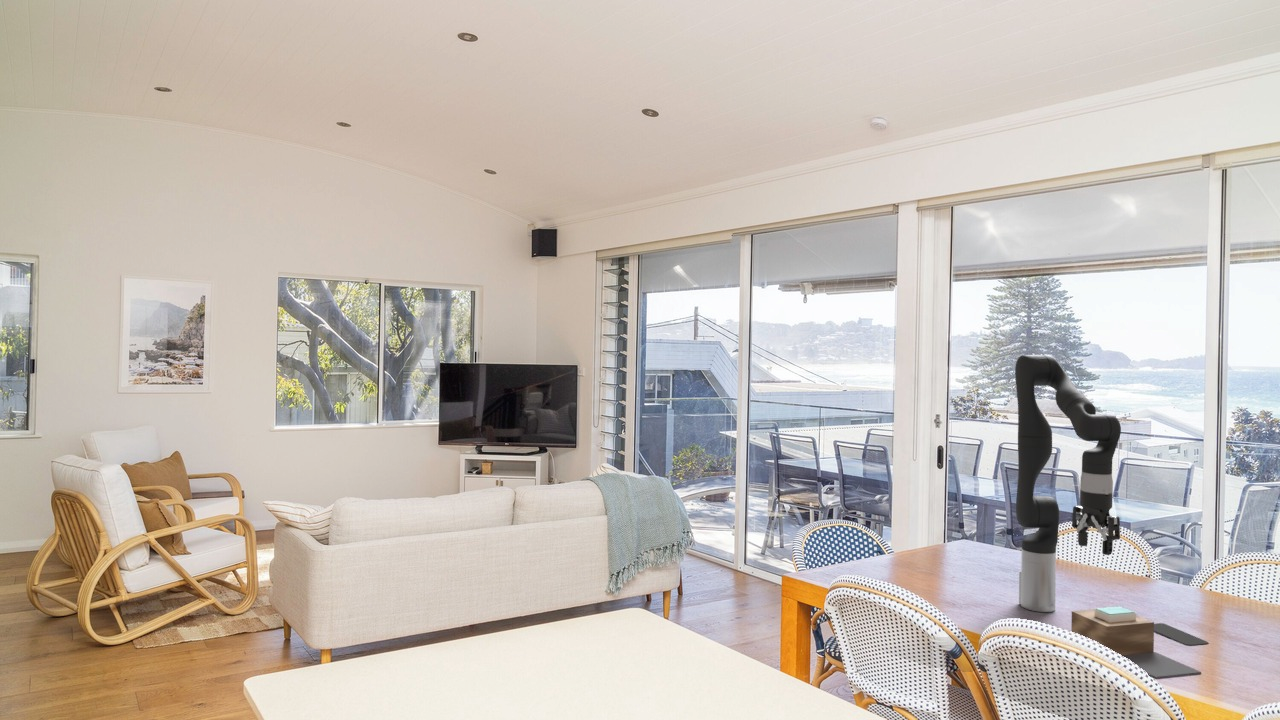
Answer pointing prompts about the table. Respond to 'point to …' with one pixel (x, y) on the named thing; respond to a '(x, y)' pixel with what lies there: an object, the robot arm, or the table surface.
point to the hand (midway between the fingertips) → (1094, 550)
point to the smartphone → (1178, 635)
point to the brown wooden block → (1116, 632)
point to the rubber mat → (1160, 665)
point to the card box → (1115, 614)
